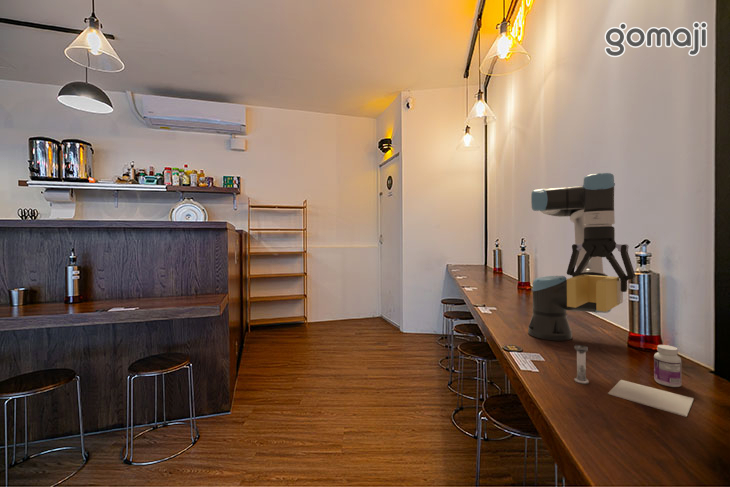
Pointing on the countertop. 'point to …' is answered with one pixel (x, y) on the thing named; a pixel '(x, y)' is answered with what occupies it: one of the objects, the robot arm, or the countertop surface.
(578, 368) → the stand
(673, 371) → the pill bottle
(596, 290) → the c link
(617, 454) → the countertop surface
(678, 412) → the felt mat
